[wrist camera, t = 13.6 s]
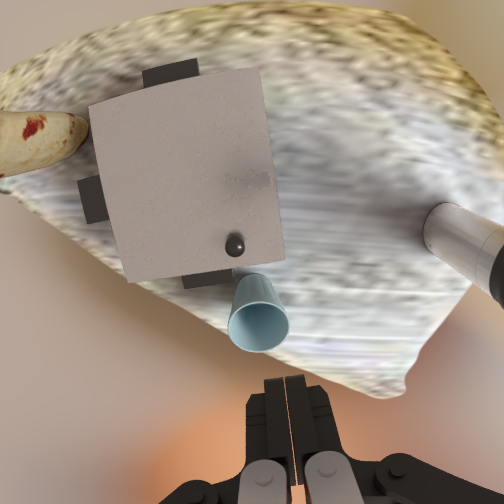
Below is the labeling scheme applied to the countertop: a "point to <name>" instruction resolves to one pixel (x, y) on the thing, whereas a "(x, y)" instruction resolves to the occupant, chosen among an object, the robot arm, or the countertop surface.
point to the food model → (38, 139)
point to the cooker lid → (186, 176)
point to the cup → (257, 316)
